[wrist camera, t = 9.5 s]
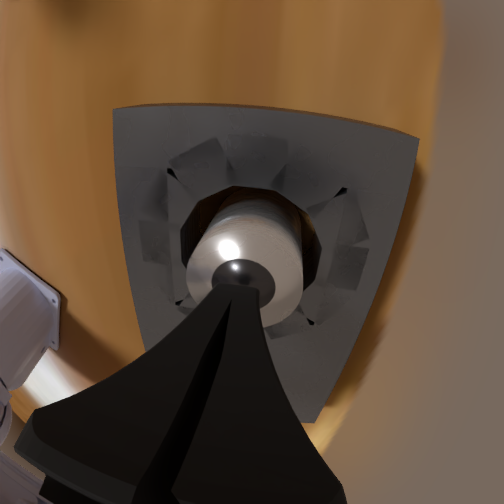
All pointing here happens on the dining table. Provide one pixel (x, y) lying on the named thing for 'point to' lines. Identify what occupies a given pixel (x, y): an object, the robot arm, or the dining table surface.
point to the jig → (273, 178)
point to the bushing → (252, 252)
